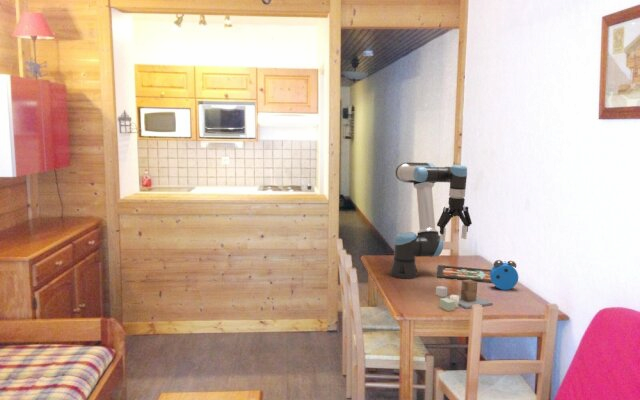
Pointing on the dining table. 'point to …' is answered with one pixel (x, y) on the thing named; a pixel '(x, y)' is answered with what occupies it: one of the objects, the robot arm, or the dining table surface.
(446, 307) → the sage block
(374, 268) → the dining table surface
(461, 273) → the painting
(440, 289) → the white cube
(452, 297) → the cream cylinder
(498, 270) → the alarm clock
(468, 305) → the grey mat
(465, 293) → the walnut block
